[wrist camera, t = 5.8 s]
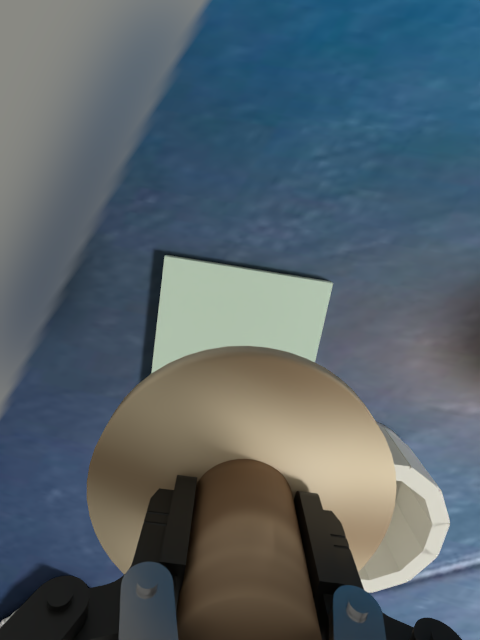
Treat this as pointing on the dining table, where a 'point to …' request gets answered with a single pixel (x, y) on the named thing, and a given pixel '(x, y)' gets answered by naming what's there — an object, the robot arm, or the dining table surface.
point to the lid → (243, 482)
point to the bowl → (407, 522)
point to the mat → (236, 310)
